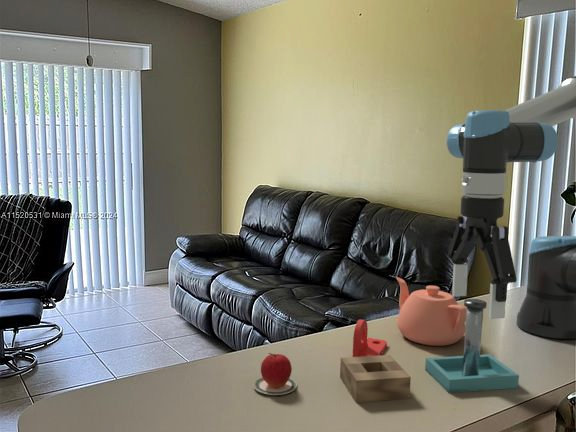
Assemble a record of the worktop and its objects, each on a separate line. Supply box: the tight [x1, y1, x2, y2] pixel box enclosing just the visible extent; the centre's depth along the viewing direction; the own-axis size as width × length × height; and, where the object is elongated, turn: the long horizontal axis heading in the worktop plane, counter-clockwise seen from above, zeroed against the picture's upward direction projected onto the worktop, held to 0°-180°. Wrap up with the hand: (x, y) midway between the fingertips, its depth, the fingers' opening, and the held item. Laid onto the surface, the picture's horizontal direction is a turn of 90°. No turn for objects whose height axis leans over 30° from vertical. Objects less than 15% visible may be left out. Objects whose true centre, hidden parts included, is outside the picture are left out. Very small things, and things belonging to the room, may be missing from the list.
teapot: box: [395, 276, 467, 347], centre depth 126 cm, size 22×15×12 cm
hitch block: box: [339, 354, 412, 403], centre depth 100 cm, size 10×10×4 cm
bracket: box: [352, 318, 388, 357], centre depth 116 cm, size 12×4×8 cm, turn 156°
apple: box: [253, 352, 298, 396], centre depth 99 cm, size 8×8×6 cm
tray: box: [424, 354, 520, 394], centre depth 104 cm, size 14×10×2 cm
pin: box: [462, 298, 487, 376], centre depth 103 cm, size 4×4×15 cm
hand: (476, 306), depth 103 cm, fingers open, 13 cm apart
